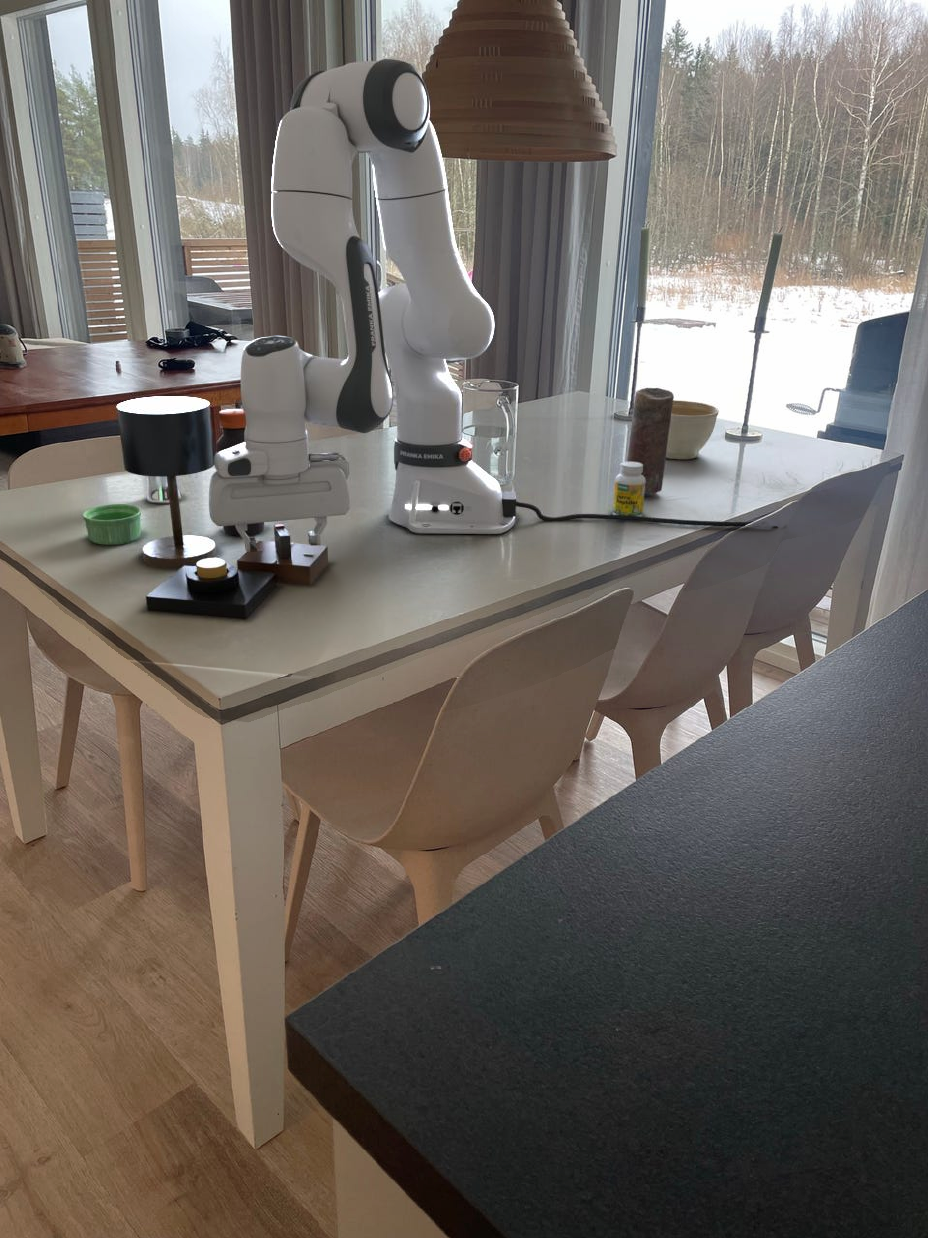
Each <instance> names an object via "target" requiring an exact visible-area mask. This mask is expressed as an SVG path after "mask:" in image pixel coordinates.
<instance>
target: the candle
mask: <svg viewBox="0 0 928 1238" xmlns="http://www.w3.org/2000/svg"><path fill="white" fill-rule="evenodd" d="M674 398H675V396H674V393H673V392H672V391H671V390H668V389H664V388H661V387H644V388H640V389H638V390H637V391H636V392H635V394H634V400H633V401H634V402H633V408H632V409H633V410H632V420H631V425H630V435H629V441H628V442H629V443H628V452H627V456H626V457H627V458H626V462H638V463H641V464H643V471H642V473H641V475H643V476H644V477H645V480H646V482H645V493H644V497H650V496H653V495H657V493H660V492H662V490H663V483H664V476H665V469H666V468H665V467H666V460H667V458H666V452H667V444H668V435H669V428H670V421H671V413H672V406H673V400H674Z"/></svg>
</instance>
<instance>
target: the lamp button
mask: <svg viewBox="0 0 928 1238" xmlns="http://www.w3.org/2000/svg"><path fill="white" fill-rule="evenodd" d="M226 564H227V561H226V559H224V558H219V557H215V558H207V559H203V560H200V561H198V562H197V563H196V568H197V576H198V577H200V578H217V577H222V576H225V575H226V574H227V567H226Z"/></svg>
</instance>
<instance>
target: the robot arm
mask: <svg viewBox="0 0 928 1238" xmlns="http://www.w3.org/2000/svg"><path fill="white" fill-rule="evenodd" d="M430 113H431V105H430V95H429V91H428V88H427V86H426V83H425V81H424V79H423V78H422V76H421V74H420V72H419V71H418V69H417V68H416V67H415V66H414V65H412V64H411V63H409V62H407V61H403V60H400V59H393V58H383V59H380V60H367V61H366V60H364V61H363V60H362V61H355V62H349V63H346V64H344V65H342V66H338V67H334V68H331V69H328V70H319V71H316V72H313V73H311V74H309V75H307V76H306V77H305V78H303V79H302V80H301V81H300V82H299V83H298V84H297V85H296V88H295V90H294V92H293V94H292V97H291V102H290V111H288V112H286V114H284V116H283V117H282V119H281V120H280V122H279V126H278V129H277V135H276V140H275V147H274V154H273V163H272V176H271V221H272V227H273V233H274V235H275V238H276V240H277V241H278V243H279V245H280V246H281V247H282V249H283V250H284V251H285V252H286V254H287V255H289V256H290V257H291V258H292V259H294V261H296V262H298V263H299V264H301V265H302V266H304V267H306V268H308V269H309V270H311V271H313V272H316V273H317V274H319V275H321V276H322V277H323V278H325V279H327V280H328V281H329V282H330V283H331V284H332V285H333V287H334V288H335V289H336V290H337V292H338V294H339V296H340V299H341V304H342V312H343V321H344V331H345V337H346V345H347V358H346V359H344V358H335V357H323V356H319V355H313V354H311V353H308V352H306V351H304V350H302V349H301V348H300V345H299V343H298V341H297V340H296V339H294V338H293V337H289V336H286V335H269V336H265V337H264V336H262V337H259V338H255V339H253V340H251V341H250V342H249V343H247V344H246V345H245V346H244V348H243V350H242V357H241V363H240V398H241V406H242V409H243V410H244V413H245V416H246V428H245V433H244V438H245V442H244V443H241V444H239V445H236V446H234V447H231V448H229V449H226V450H223V451H221V452H218V453H214V469H215V471H214V473H213V474H212V475H211V478H210V481H209V489H208V512H209V519H210V520H211V522H212V523H213V524H214V525H215V526H216V527H223V526H230V525H236V529H237V531H238V532H239V534H240V535H241V536H240V537H241V538H242V539H243V541H244V548H245V553H246V552H256V551H257V547H256V545H257V540H256V537H255V536H253V537H249V536H247V534H246V533H245V531H247V524H252V523H263V522H264V523H272V522H282V521H294V520H303V519H304V520H305V519H314V521H316V525H315V526H314V528H313V531H312V530H311V531H307V537H308V539H307V541H308V545H310V546H316V545H321V535H322V534H323V532H324V530H325V528H326V526H327V524H328V517H335V516H336V517H337V516H345V515H347V514H348V512H349V511H350V509H351V499H350V491H349V487H348V486H349V485H348V482H347V480H348V479H349V476H350V462H349V459H347V457H346V456H344V455H342V454H339V452H336V451H332V452H327V453H326V452H325V453H322V452H321V453H320V452H317V453H310V452H309V435H308V434H309V433H308V429H307V426H306V423H311V424H314V425H318V426H319V425H320V426H328V427H335V428H341V429H344V430H348V431H353V432H356V433H360V434H368V433H370V432H372V431H374V430H375V429H376V428H378V427H379V426H380V425H381V424H382V423H384V422H385V420H386V419H387V418H388V417H389V415H390V414H391V412H392V410H393V409H392V408H393V405H394V393H395V401H396V402H395V405H396V406H395V407H396V437H395V438H394V444H393V464H394V470H395V480H394V481H395V482H394V490H393V496H392V499H391V505H390V509H389V511H388V519H389V520H390V521H391V522H392V523H394V524H396V525H399V526H402V527H404V528H406V529H408V530H409V531H410V532H412V533H415V534H455V535H456V534H457V535H458V534H459V535H460V534H463V535H464V534H465V535H468V534H471V535H472V534H473V535H499V534H503V533H505V532H507V531H509V530H510V529H512V528H513V527H514V525H515V523H516V514H517V508H523V509H528V510H532V511H533V512H535V514H536V516H537V518H538V519H540V520H541V521H545V522H564V521H570V520H577V519H579V520H580V519H587V520H588V519H590V520H591V519H594V520H613V521H614V520H615V521H630V522H631V521H632V522H643V523H655V524H668V525H670V524H671V525H683V526H684V525H685V526H705V527H746V526H745V525H746V524H748V523H751V522H753V521H755V520H757V519H758V518H757V519H752V520H747V521H726V520H725V521H724V520H723V521H721V520H720V521H717V520H695V519H681V518H680V519H678V518H665V517H664V518H663V517H652V516H642V517H639V516H625V515H613V514H607V513H605V514H604V513H573V514H566V515H562V516H548V515H545V514H542V511H541V510H540V508H539V507H538V506H536V505H534V504H531V503H527V502H521V501H517V496H516V492H515V491H502V489H501V486H500V483H499V482H498V480H496V478H494V477H493V476H491V475H490V474H489V473H488V472H486V471H485V470H484V468H483V469H482V467H480V466H479V465H478V464H476V463H475V462H474V461H473V453H474V449H473V441H472V440H470V441H468V440H466V439H465V438H463V437H462V415H463V414H462V411H463V410H462V408H463V404H462V403H463V396H462V393H461V389H460V387H459V386H458V385H457V383H456V382H455V381H454V380H453V378H452V376H451V373H450V370H449V368H448V365H447V362H446V361H450V362H452V361H464V360H471V359H476V358H478V357H479V356H481V355H482V354H484V352H485V351H486V350H487V349H488V348H489V346H490V344H491V342H492V340H493V336H494V331H495V318H494V314H493V311H492V309H491V307H490V305H489V304H488V303H487V302H486V301H485V299H484V298H483V297H482V296H481V295H480V293H478V291H477V289H476V288H475V287H474V285H473V283H472V281H471V279H470V277H469V275H468V272H467V270H466V268H465V266H464V262H463V261H462V258H461V256H460V253H459V250H458V247H457V243H456V237H455V232H454V227H453V221H452V212H451V207H450V205H451V204H450V200H449V199H450V198H449V191H448V183H447V175H446V170H445V165H444V161H443V156H442V152H441V147H440V144H439V140H438V136H437V134H436V130H435V128H434V125H433V124H432V121H431V120H430V116H431V114H430ZM357 154H367V156H368V158H369V160H370V162H371V165H372V173H373V186H374V191H375V198H376V199H375V200H376V206H377V212H378V218H379V219H378V220H379V225H380V230H381V236H382V244H383V249H384V251H385V254H386V255H387V257H388V258H389V260H390V261H391V262H393V264H394V265H395V266H396V268H397V269H398V271H399V273H400V275H401V277H402V279H403V281H404V283H399V284H393V285H390V286H387V287H384V288H382V289H381V290H379V285H378V278H377V272H376V265H375V261H374V257H373V253H372V250H371V247H370V246H369V244H368V243H367V242H366V241H365V240H363V239H362V238H361V236H360V235H359V232H358V230H357V226H356V223H355V222H356V221H355V219H354V211H353V171H352V170H353V169H352V166H353V162H354V160H355V157H356V155H357ZM388 366H389V367H388ZM389 369H390V370H389ZM390 373H391V375H390ZM391 376H392V379H391ZM392 381H393V382H392ZM393 387H394V388H393Z"/></svg>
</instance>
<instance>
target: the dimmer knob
mask: <svg viewBox="0 0 928 1238" xmlns="http://www.w3.org/2000/svg"><path fill="white" fill-rule="evenodd" d="M273 533H274V542H275V548H276V550H277V552H278V553H279V555H280V557H281V559H283V558H291V543H292V542H291V541H292V540H291V534H290V533H289V531H288V529H287V528H286V527H285V525H284V523H278V524H274V526H273Z"/></svg>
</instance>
